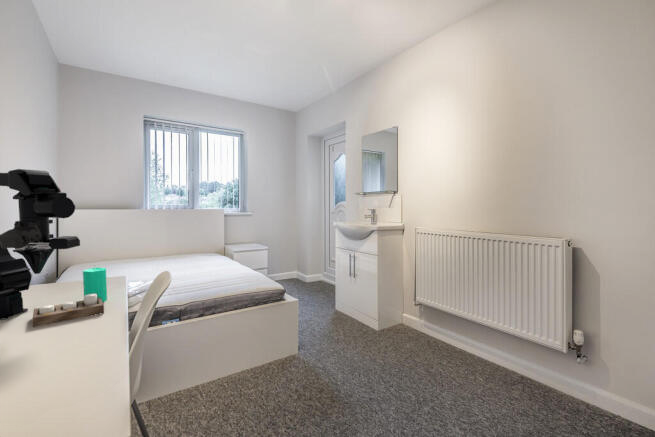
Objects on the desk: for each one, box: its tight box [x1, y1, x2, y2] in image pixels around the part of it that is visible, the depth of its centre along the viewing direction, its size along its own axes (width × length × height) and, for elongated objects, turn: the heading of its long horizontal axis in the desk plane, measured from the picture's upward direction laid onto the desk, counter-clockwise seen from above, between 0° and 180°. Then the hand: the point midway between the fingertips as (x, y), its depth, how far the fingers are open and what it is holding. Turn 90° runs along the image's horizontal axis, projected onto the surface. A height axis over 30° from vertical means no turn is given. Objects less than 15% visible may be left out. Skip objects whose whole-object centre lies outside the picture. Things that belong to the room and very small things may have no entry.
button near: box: [38, 304, 55, 314], centre depth 83 cm, size 3×3×3 cm
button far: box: [83, 294, 97, 306], centre depth 89 cm, size 3×3×3 cm
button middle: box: [62, 300, 77, 310], centre depth 86 cm, size 3×3×3 cm
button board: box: [32, 298, 105, 328], centre depth 86 cm, size 15×8×3 cm, turn 132°
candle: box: [82, 264, 108, 303], centre depth 98 cm, size 6×6×12 cm
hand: (37, 273), depth 82 cm, fingers closed
